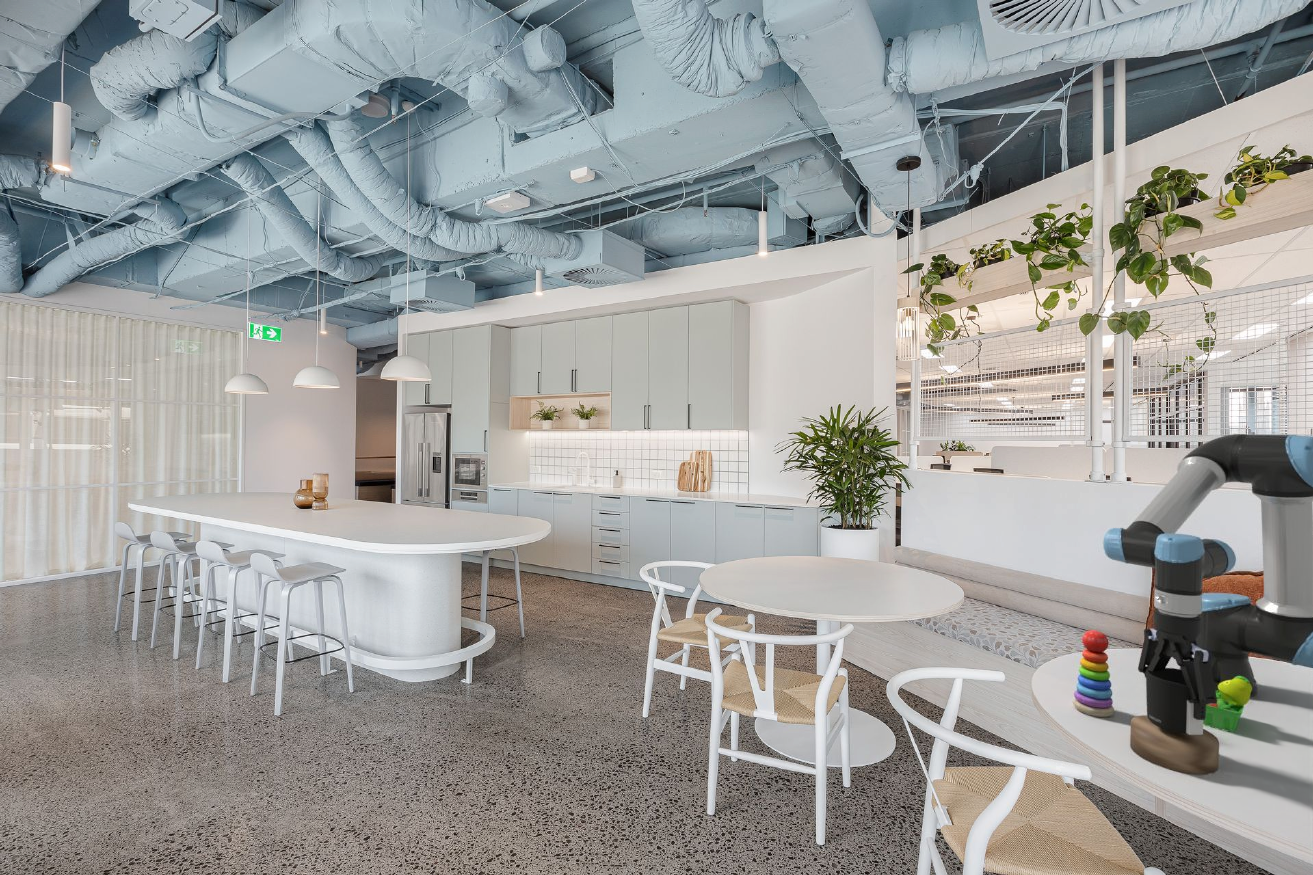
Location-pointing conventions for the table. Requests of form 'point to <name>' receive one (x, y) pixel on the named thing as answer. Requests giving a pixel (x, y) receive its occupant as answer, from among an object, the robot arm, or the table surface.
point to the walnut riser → (1174, 748)
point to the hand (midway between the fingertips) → (1174, 721)
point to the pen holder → (1167, 699)
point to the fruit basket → (1228, 704)
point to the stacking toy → (1094, 677)
